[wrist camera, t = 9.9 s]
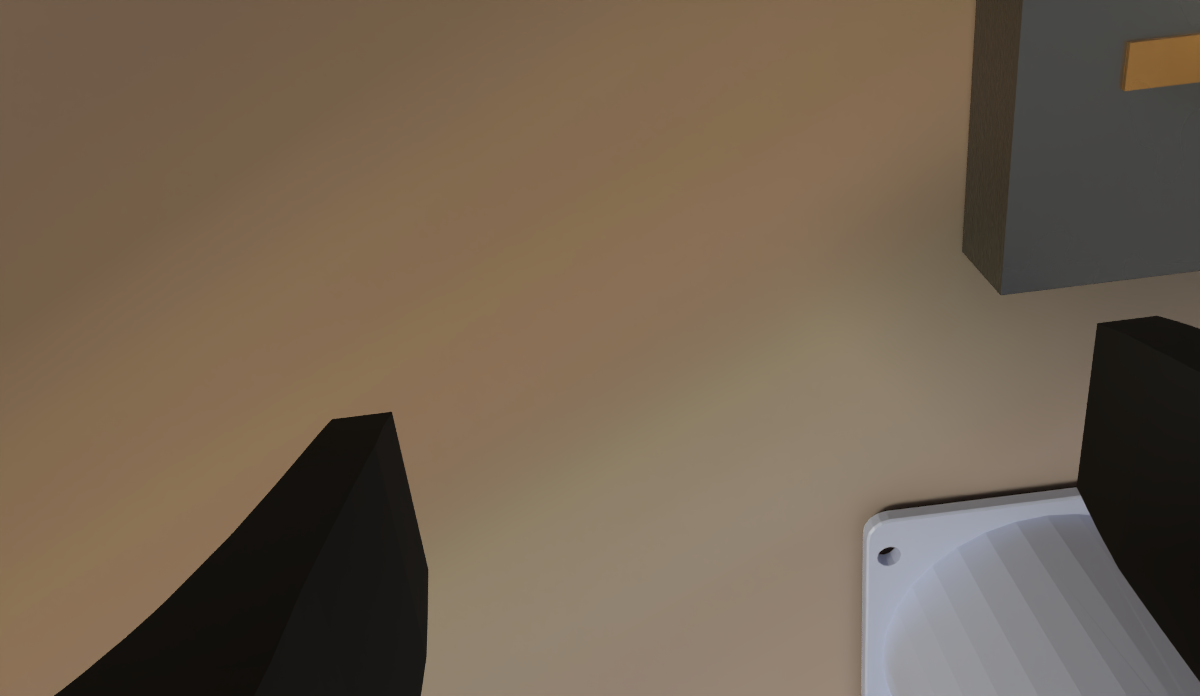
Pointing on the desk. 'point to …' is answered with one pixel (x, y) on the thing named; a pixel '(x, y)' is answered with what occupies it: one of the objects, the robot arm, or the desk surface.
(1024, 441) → the desk surface
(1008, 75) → the console panel
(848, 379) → the desk surface
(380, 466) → the robot arm
